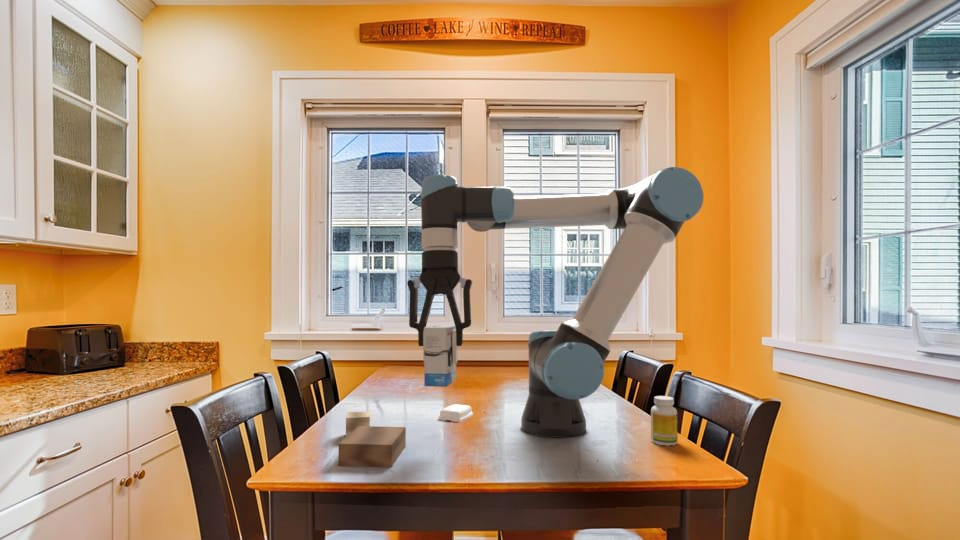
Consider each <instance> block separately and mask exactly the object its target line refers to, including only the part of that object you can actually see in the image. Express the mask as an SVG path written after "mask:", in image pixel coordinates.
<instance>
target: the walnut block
mask: <svg viewBox="0 0 960 540" xmlns="http://www.w3.org/2000/svg"><path fill="white" fill-rule="evenodd" d="M406 429H407V427H406V426H375V425H374V426H371V425H370V426H358V427H357V428H356V429H355V430H354V431H353V432H351V433H350V434H349V435H348V436H347V437H346V436H345V438H343V439H342V440H341V441H340V442H339V443H338V463H337V465H338V466H340V467H345V466H347V467H348V466H349V467H380V468H382V467H383V468H386V467H387V468H392V467H393V466H394V464H395V462H396V461H397V460H398V458H399V457H400V455H401V454H402V453H403V451H404V450H405V448H406V447H407V446H406V434H407V433H406V432H407V430H406Z"/></svg>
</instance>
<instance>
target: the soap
mask: <svg viewBox="0 0 960 540" xmlns="http://www.w3.org/2000/svg"><path fill="white" fill-rule="evenodd" d="M472 416H474V412H473V411H472V407H471V406H470V405H468V404H458V403H457V404H456V403H455V404H454V403H453V404H451V405H449V406H446V407H444V408H442V409H441V410H440V412H439V416H438V421H444V422H445V421H446V422H447V421H450V422H453V423H454V422H455V423H462V422H464V421H466V420H468V419H470V417H472Z"/></svg>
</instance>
